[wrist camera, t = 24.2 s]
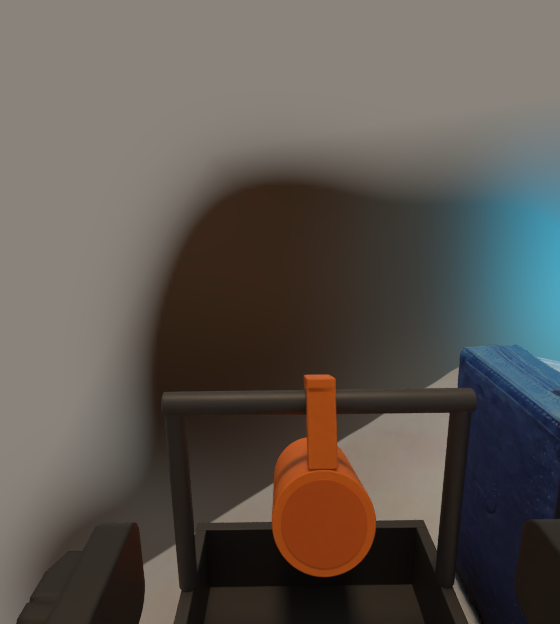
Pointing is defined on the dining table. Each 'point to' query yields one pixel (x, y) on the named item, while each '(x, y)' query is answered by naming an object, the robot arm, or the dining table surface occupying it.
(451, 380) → the dining table surface
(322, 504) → the measuring cup
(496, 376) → the book
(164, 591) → the dining table surface
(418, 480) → the dining table surface
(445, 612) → the basket
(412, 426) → the dining table surface
